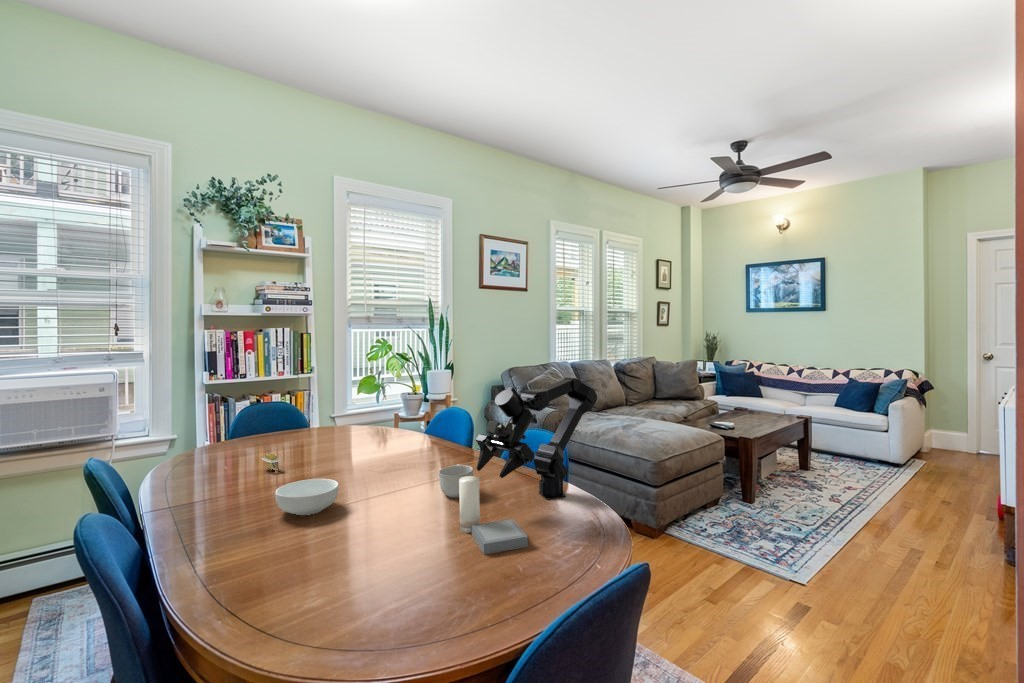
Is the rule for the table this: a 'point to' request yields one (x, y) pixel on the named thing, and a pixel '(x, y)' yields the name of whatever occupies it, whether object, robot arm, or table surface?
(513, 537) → the base
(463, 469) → the teacup
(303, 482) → the cereal bowl
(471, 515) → the white cylinder
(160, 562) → the table surface
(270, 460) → the yellow and grey piece
